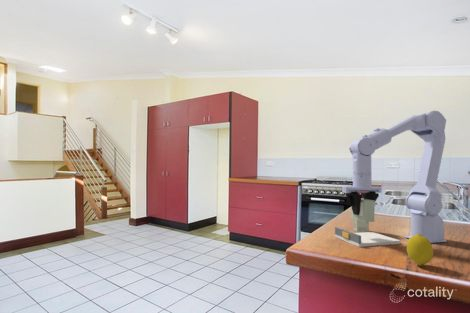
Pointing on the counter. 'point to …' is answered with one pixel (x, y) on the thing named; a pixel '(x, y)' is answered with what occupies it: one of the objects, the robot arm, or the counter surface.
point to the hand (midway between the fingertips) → (362, 214)
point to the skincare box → (360, 226)
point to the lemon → (419, 249)
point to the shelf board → (364, 238)
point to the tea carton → (365, 211)
